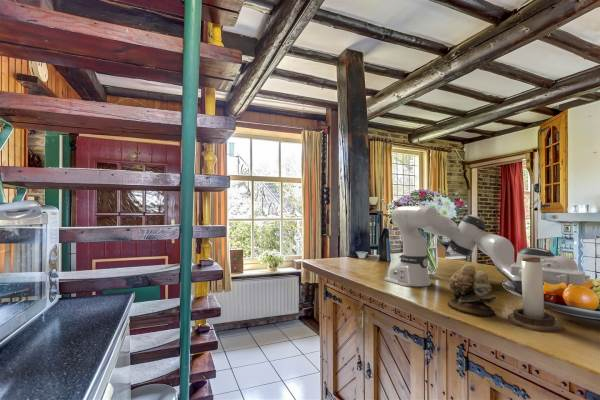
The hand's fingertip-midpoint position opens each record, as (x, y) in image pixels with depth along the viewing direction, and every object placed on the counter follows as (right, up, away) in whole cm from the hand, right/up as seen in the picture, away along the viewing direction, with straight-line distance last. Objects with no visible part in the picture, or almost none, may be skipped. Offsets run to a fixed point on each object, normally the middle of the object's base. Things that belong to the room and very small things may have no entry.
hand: (537, 276), depth 100 cm
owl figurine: (-16, -15, +11) cm, 25 cm away
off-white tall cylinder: (-3, -14, -2) cm, 14 cm away
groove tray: (-3, -15, -2) cm, 15 cm away
